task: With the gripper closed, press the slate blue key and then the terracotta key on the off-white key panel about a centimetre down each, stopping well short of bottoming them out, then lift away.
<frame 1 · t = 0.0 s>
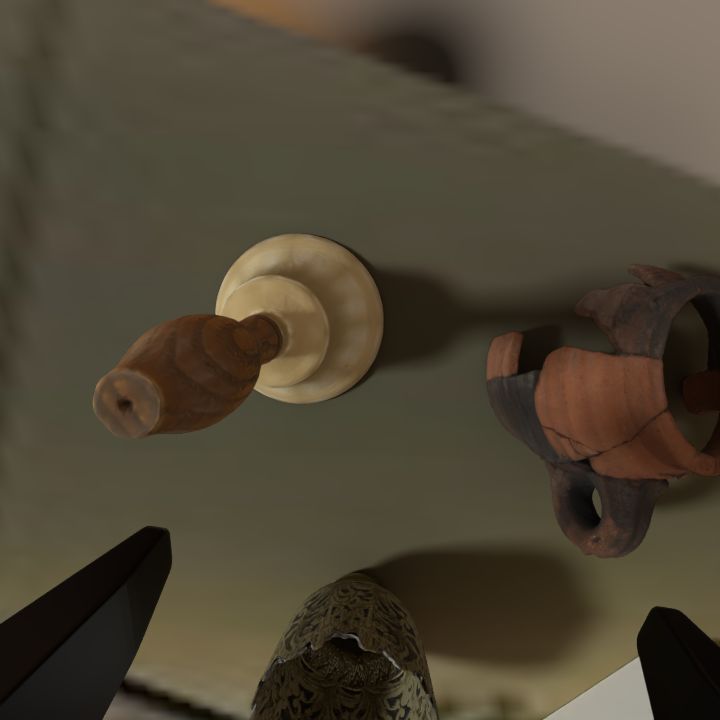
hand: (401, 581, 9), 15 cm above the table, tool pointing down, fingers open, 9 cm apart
pottery mug: (584, 390, 24), on the table
cup: (359, 594, 27), on the table
hand bell: (300, 320, 24), on the table
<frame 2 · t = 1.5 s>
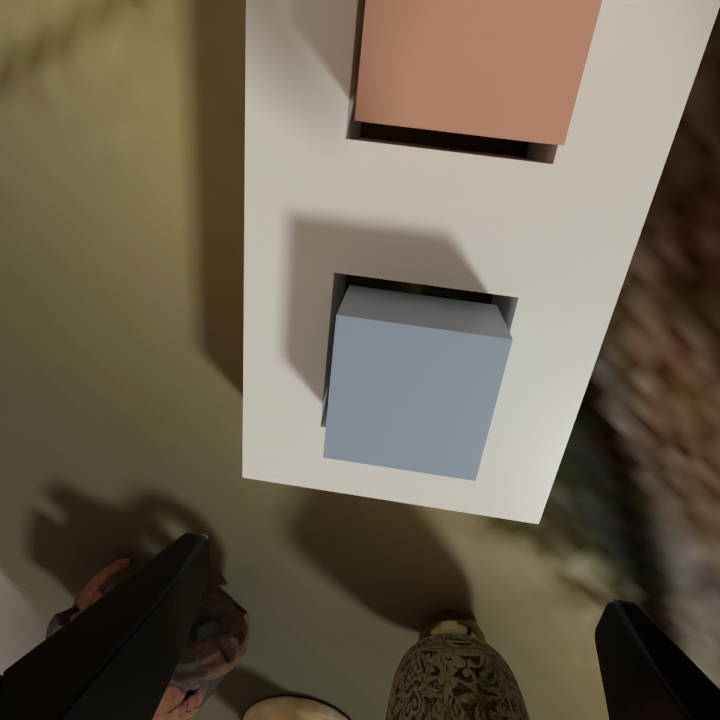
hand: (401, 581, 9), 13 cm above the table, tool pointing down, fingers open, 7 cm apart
blue key: (410, 380, 16), point 5 cm above the table, slide at 0.0 cm
pottery mug: (187, 597, 30), on the table
key panel: (432, 204, 19), on the table
cup: (450, 625, 28), on the table
terracotta key: (473, 20, 12), point 5 cm above the table, slide at 0.0 cm
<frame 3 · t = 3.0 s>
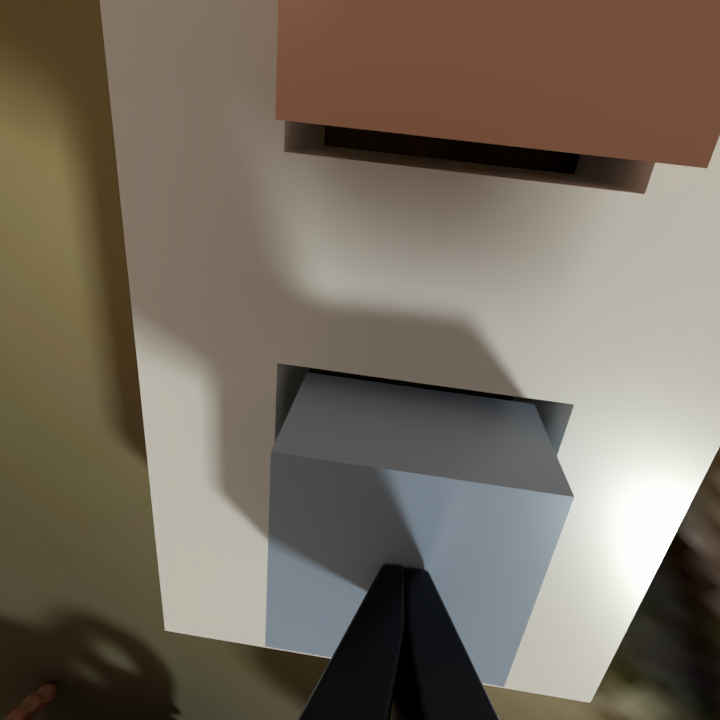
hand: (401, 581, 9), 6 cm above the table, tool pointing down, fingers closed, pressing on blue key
blue key: (401, 523, 11), point 5 cm above the table, slide at 0.2 cm, touching gripper
key panel: (433, 243, 13), on the table
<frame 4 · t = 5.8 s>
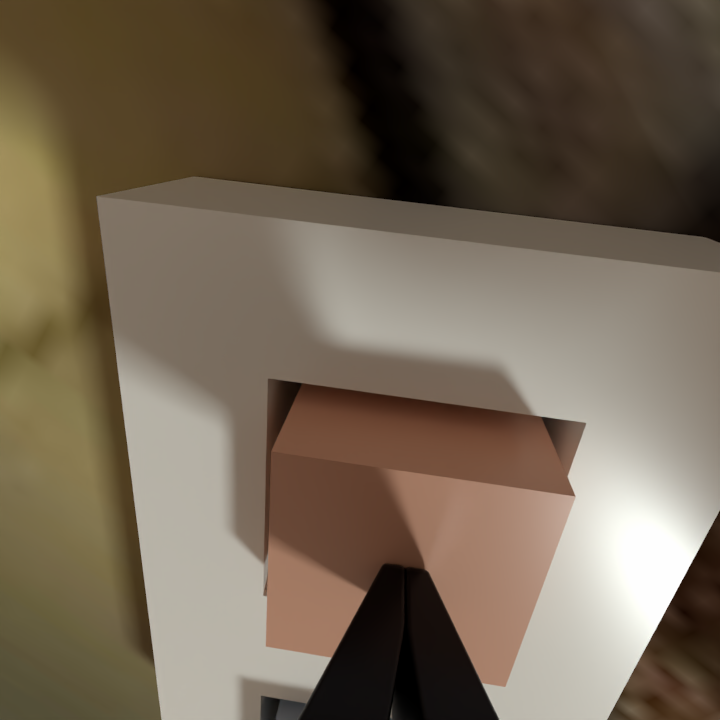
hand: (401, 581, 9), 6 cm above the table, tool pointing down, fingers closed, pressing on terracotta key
key panel: (385, 549, 16), on the table
terracotta key: (402, 523, 10), point 4 cm above the table, slide at 0.9 cm, touching gripper
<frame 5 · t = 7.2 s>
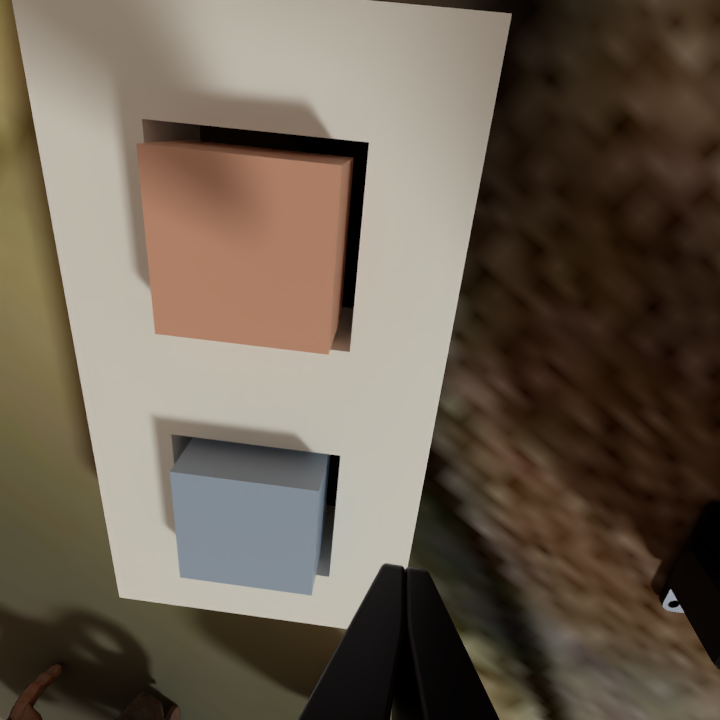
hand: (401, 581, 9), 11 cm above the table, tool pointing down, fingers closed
blue key: (256, 507, 19), point 4 cm above the table, slide at 1.2 cm
pottery mug: (122, 693, 32), on the table
key panel: (282, 346, 20), on the table
terracotta key: (255, 244, 14), point 4 cm above the table, slide at 1.1 cm
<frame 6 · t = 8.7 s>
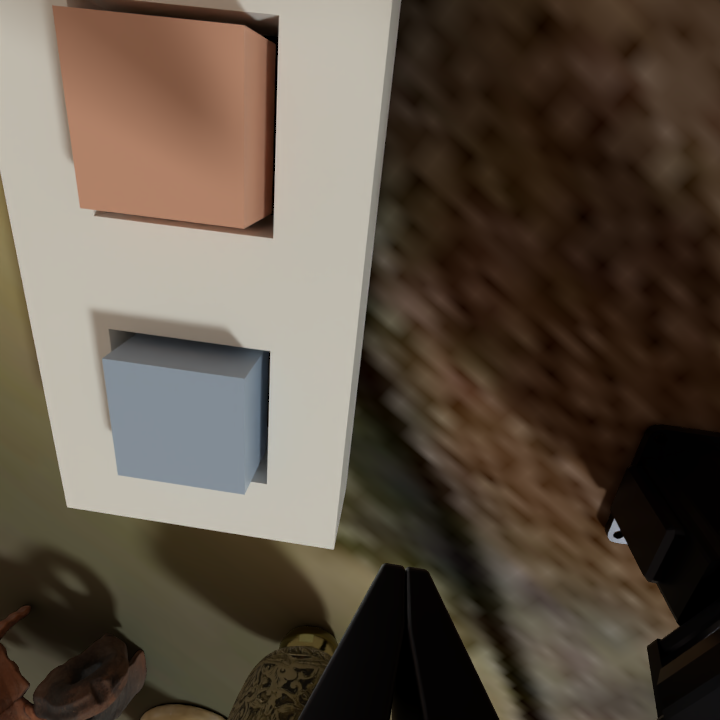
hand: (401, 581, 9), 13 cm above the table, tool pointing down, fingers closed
blue key: (194, 409, 19), point 4 cm above the table, slide at 1.2 cm
pottery mug: (90, 638, 33), on the table
key panel: (226, 259, 20), on the table
cup: (312, 637, 30), on the table
terracotta key: (178, 125, 15), point 4 cm above the table, slide at 1.1 cm
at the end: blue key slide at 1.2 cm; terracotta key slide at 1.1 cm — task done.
